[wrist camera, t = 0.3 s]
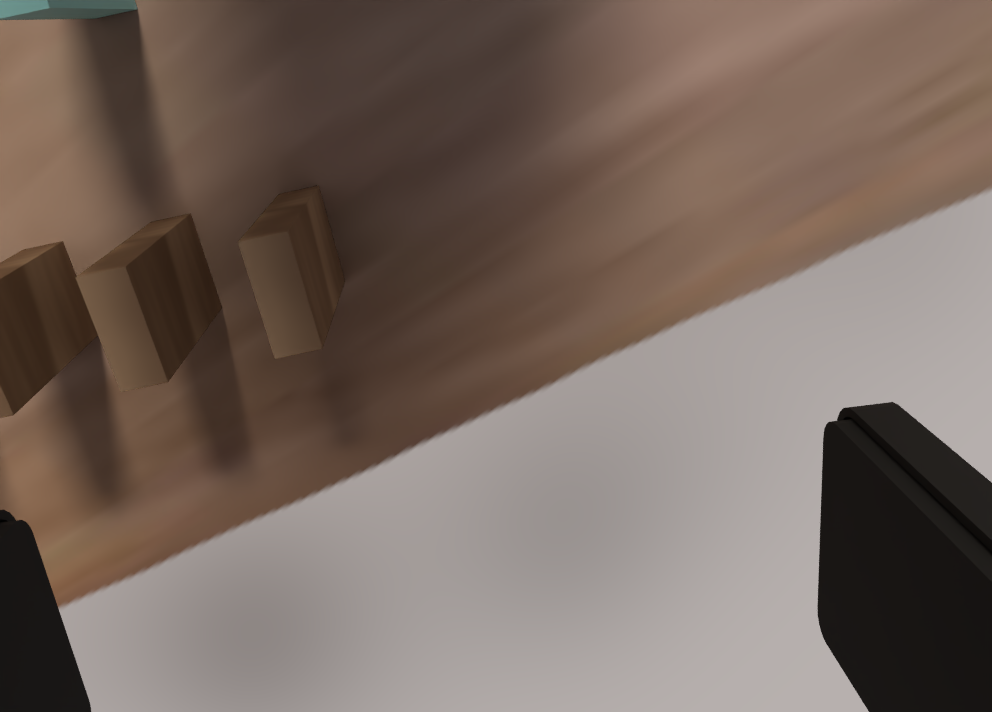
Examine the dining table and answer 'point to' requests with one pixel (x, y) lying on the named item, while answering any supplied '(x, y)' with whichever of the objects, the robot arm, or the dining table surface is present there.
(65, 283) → the domino
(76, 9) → the teal domino
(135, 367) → the domino
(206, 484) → the dining table surface
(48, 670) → the robot arm
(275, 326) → the domino
